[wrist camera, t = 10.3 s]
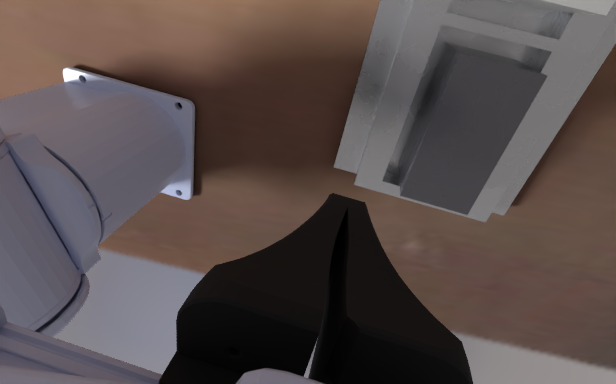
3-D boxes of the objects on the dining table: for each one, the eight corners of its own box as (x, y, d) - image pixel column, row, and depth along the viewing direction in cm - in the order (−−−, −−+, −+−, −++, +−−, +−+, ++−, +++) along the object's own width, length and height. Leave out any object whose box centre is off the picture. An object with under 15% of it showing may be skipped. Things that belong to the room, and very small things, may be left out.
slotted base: (335, 160, 22) (323, 198, 18) (461, -288, 12) (498, -435, 8) (499, 207, 22) (525, 258, 17) (775, -231, 12) (994, -360, 7)
